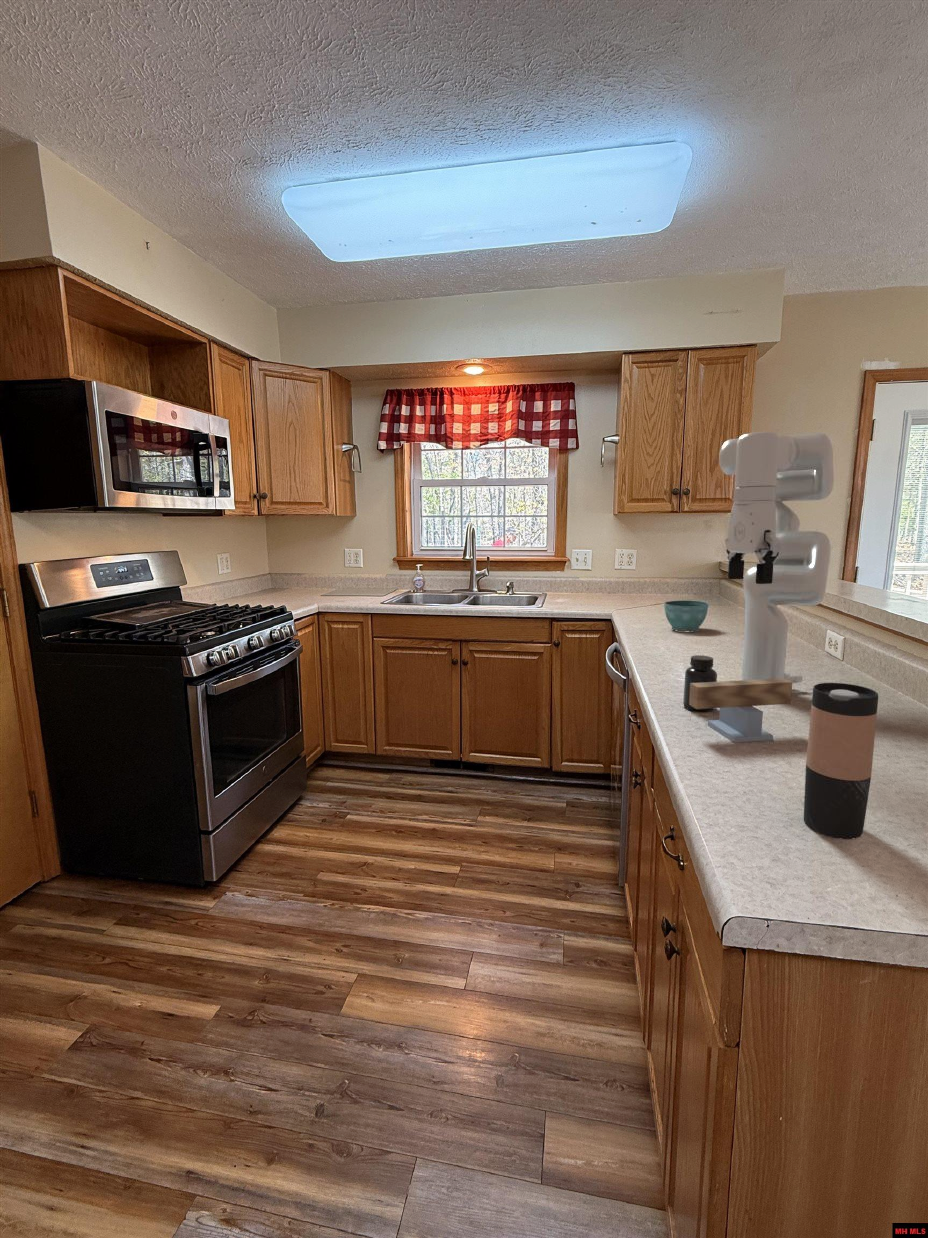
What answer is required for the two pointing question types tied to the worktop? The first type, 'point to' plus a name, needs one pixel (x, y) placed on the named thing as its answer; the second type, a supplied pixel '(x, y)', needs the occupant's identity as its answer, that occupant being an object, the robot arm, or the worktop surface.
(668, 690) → the worktop surface
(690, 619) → the teal bowl
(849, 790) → the travel mug
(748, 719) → the fulcrum
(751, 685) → the walnut bar
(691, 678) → the supplement bottle
